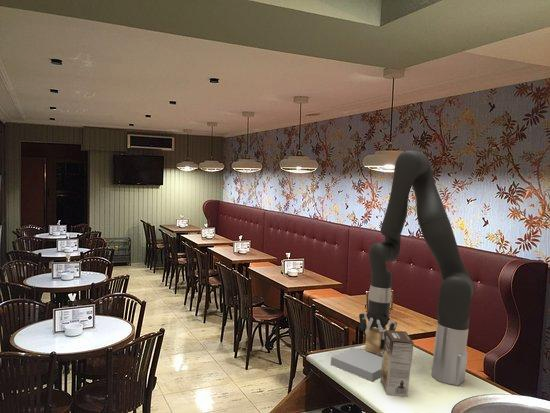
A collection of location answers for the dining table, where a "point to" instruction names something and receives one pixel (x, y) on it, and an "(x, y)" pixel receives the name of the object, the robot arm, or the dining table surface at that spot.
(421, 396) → the dining table surface
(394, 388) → the coffee box
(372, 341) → the oak block
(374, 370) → the slate base
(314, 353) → the dining table surface
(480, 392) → the dining table surface
